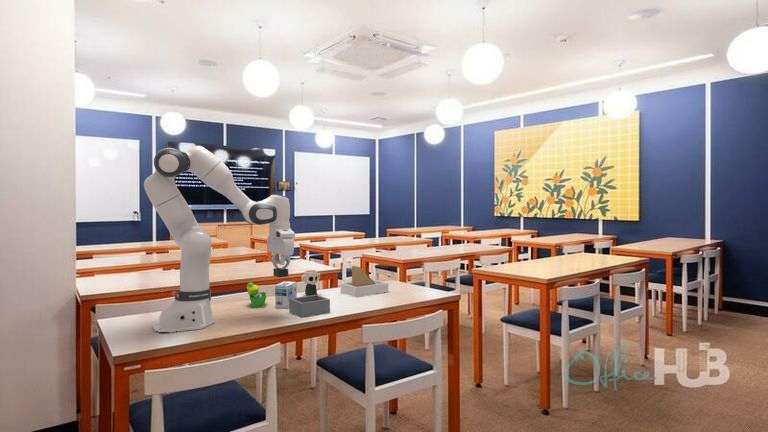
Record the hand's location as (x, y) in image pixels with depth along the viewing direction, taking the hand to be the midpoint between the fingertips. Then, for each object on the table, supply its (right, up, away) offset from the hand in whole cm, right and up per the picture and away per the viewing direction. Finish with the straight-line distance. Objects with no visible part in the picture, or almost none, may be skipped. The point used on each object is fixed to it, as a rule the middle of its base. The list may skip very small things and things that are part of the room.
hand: (279, 264), depth 199 cm
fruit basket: (-16, -22, +20) cm, 34 cm away
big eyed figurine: (+7, -21, +42) cm, 48 cm away
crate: (+12, -22, +7) cm, 26 cm away
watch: (0, -5, +1) cm, 5 cm away
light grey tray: (+35, -21, +50) cm, 64 cm away
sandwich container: (+36, -21, +51) cm, 66 cm away
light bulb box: (-1, -22, +20) cm, 30 cm away
